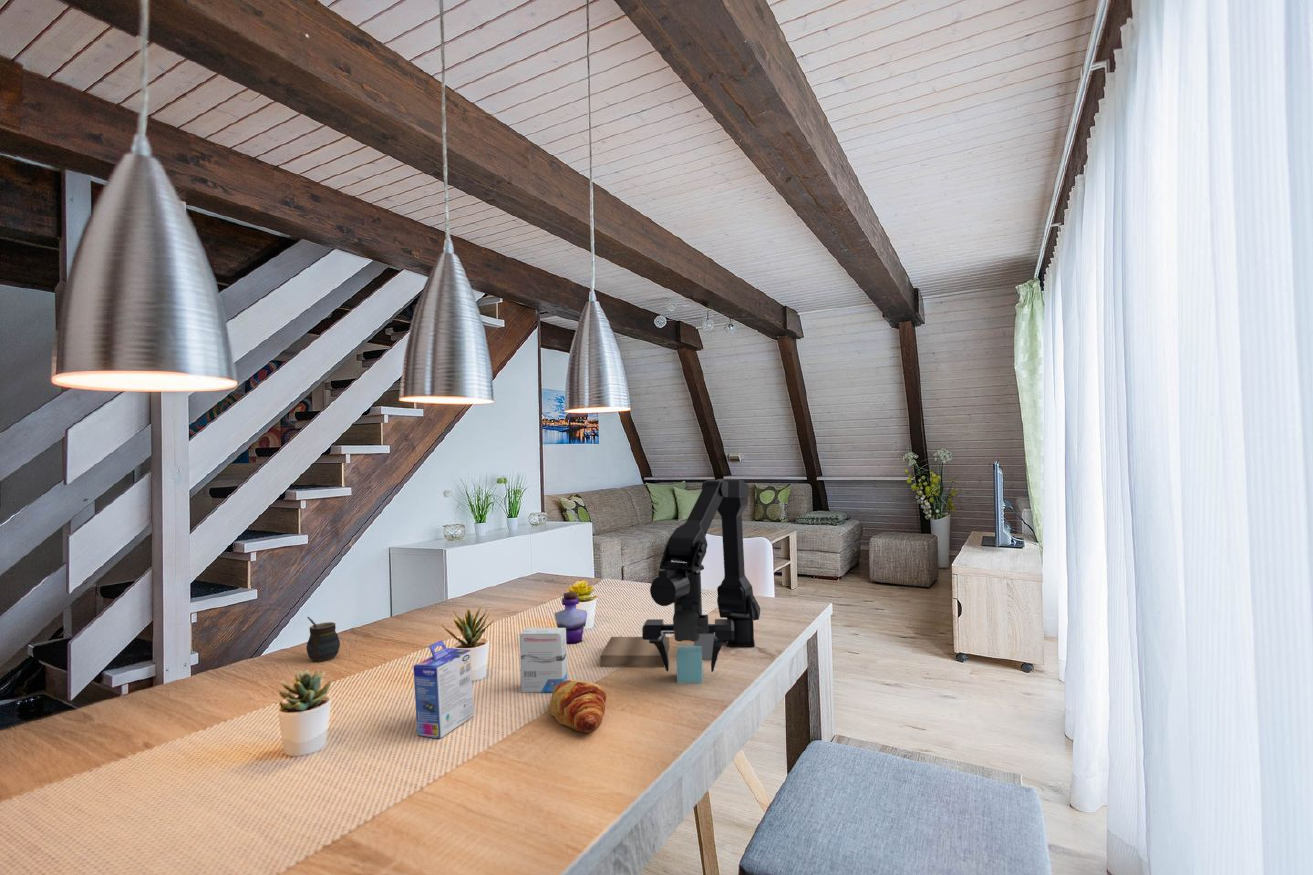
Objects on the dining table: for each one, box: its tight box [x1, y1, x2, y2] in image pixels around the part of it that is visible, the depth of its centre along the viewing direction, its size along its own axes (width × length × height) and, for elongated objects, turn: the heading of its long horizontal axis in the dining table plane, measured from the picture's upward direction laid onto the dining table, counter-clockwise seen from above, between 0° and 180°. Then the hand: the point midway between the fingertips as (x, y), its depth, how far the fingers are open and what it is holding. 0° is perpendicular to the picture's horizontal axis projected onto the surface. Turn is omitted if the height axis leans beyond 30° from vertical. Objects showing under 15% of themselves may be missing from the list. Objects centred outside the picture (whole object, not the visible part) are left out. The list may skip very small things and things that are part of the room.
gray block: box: [693, 634, 719, 661], centre depth 150 cm, size 5×5×6 cm
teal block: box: [675, 645, 704, 684], centre depth 136 cm, size 5×5×6 cm
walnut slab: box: [599, 636, 670, 668], centre depth 151 cm, size 14×14×3 cm
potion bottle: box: [553, 591, 588, 645], centre depth 165 cm, size 9×9×12 cm
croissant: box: [548, 679, 607, 733], centre depth 119 cm, size 21×10×8 cm, turn 21°
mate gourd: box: [306, 616, 341, 663], centre depth 157 cm, size 7×8×10 cm
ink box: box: [518, 627, 568, 694], centre depth 133 cm, size 8×5×12 cm, turn 84°
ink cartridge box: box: [412, 640, 475, 739], centre depth 116 cm, size 10×6×14 cm, turn 161°
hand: (689, 670), depth 136 cm, fingers open, 9 cm apart
